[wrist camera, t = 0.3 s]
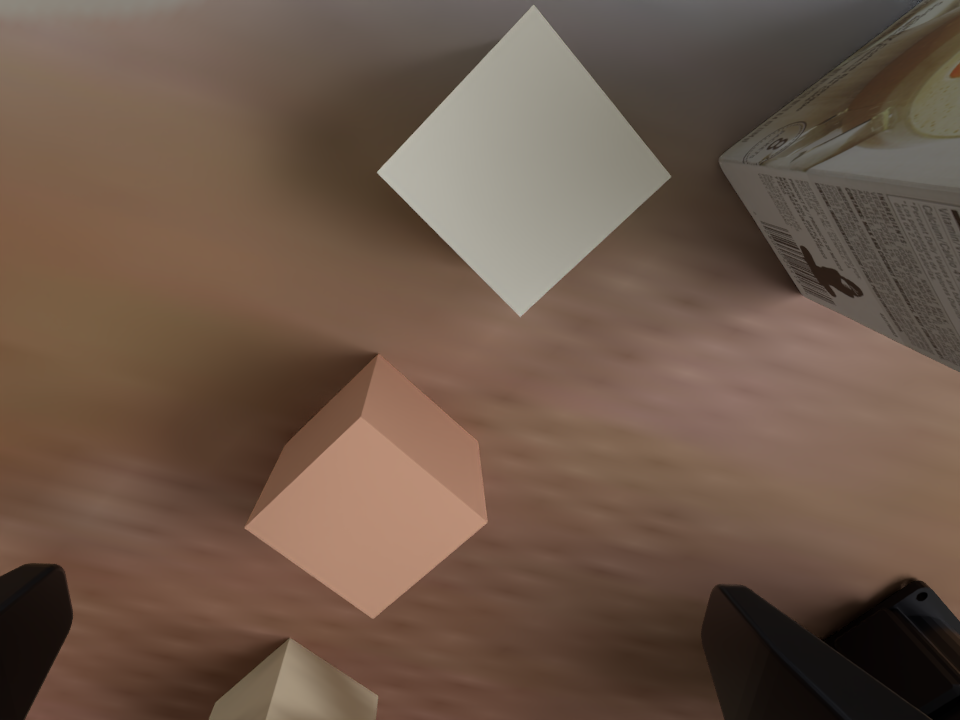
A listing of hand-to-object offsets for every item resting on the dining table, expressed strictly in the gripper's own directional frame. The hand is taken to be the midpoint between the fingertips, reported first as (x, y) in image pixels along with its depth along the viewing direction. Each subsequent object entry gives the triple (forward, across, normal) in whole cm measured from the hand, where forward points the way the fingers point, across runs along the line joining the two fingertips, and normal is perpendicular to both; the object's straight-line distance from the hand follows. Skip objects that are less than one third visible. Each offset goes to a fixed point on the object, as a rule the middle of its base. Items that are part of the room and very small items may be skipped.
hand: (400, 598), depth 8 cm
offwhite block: (+13, -2, -5) cm, 14 cm away
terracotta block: (+13, +2, +5) cm, 14 cm away
